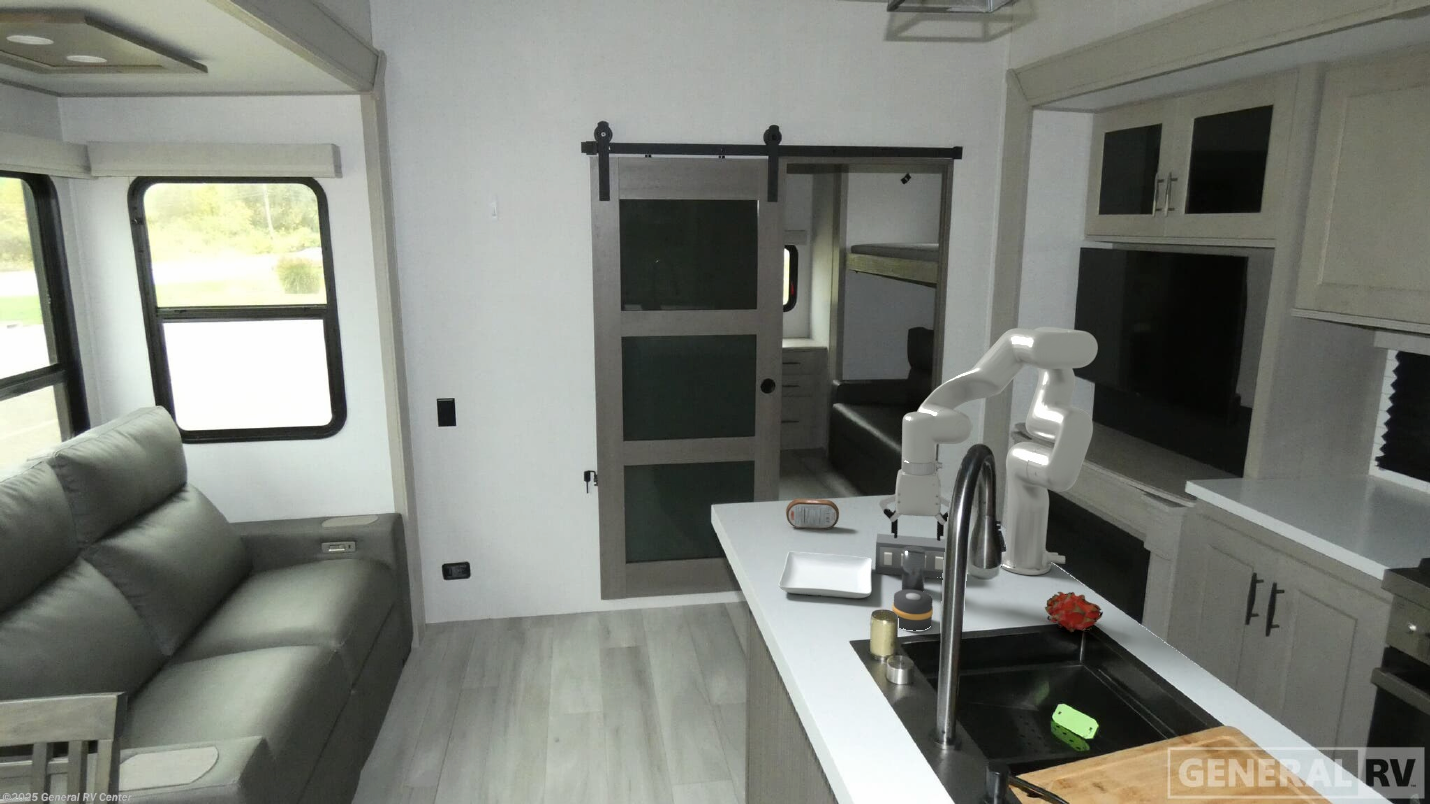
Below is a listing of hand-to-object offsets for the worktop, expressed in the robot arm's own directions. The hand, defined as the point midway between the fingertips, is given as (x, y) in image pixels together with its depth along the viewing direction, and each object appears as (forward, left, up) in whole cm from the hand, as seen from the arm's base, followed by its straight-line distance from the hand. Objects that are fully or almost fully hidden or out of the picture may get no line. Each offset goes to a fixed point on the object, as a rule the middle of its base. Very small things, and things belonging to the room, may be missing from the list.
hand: (917, 537), depth 186 cm
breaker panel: (+1, -11, -13) cm, 17 cm away
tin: (+29, -36, -13) cm, 48 cm away
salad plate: (+21, 0, -14) cm, 25 cm away
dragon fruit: (-33, +11, -13) cm, 37 cm away
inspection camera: (0, 0, -13) cm, 13 cm away
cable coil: (+1, +17, -13) cm, 22 cm away
